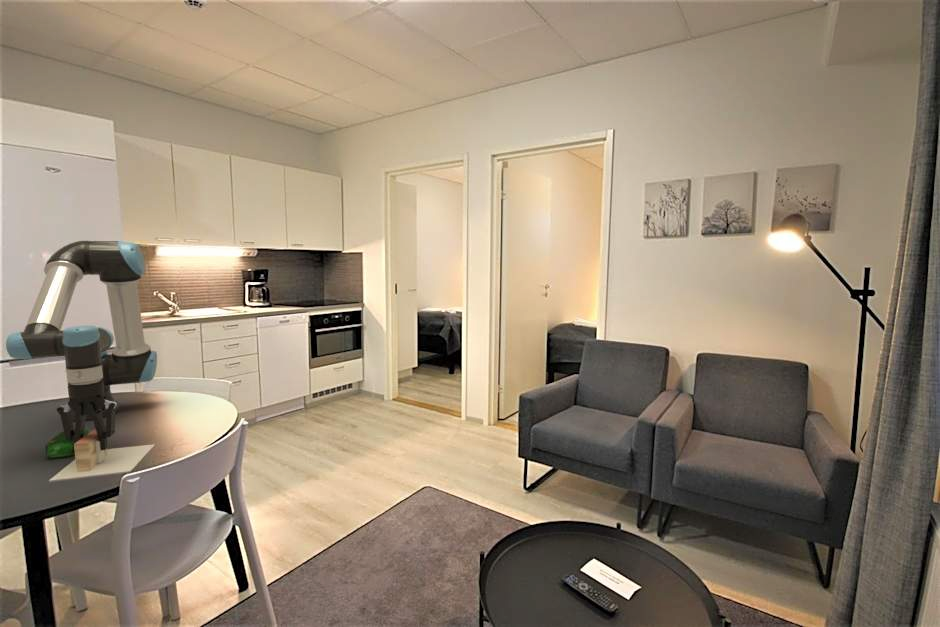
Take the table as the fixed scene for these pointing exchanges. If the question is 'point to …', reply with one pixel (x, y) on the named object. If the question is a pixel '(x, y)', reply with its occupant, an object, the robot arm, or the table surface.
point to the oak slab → (86, 452)
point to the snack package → (61, 446)
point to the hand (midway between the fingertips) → (93, 461)
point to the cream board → (107, 463)
